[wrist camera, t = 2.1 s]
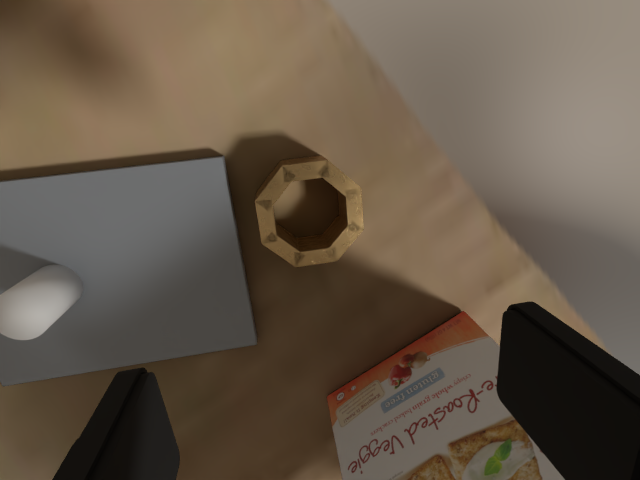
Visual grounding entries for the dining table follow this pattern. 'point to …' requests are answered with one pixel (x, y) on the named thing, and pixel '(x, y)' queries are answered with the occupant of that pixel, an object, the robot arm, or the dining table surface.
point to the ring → (315, 246)
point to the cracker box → (434, 415)
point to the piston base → (119, 269)
